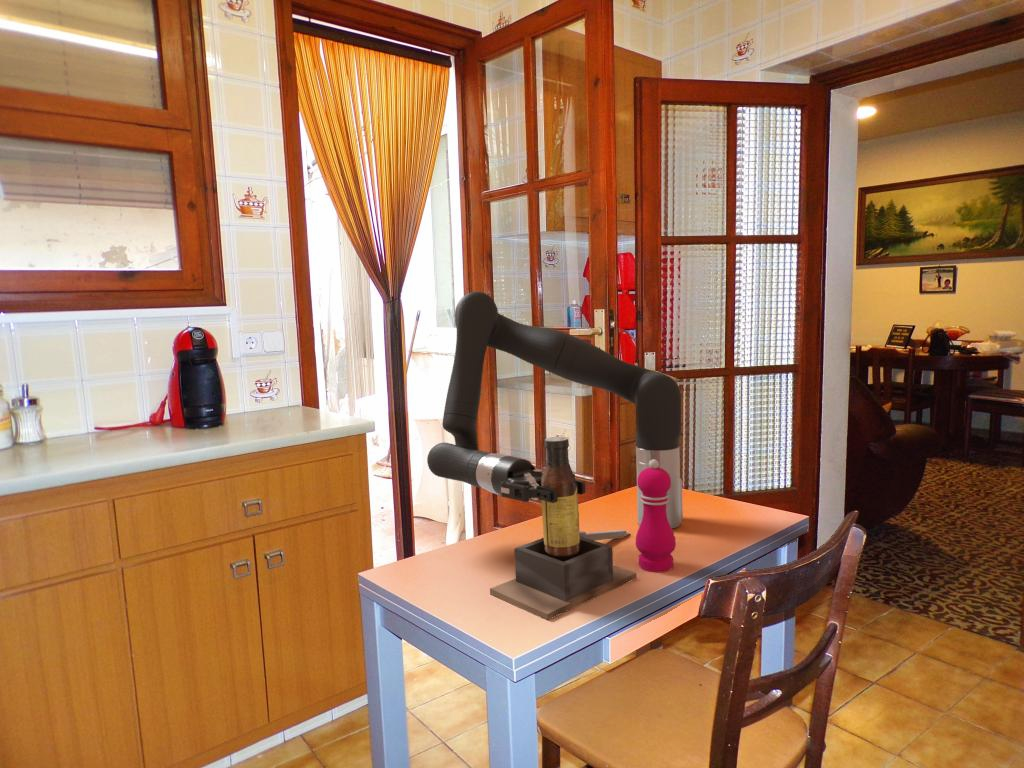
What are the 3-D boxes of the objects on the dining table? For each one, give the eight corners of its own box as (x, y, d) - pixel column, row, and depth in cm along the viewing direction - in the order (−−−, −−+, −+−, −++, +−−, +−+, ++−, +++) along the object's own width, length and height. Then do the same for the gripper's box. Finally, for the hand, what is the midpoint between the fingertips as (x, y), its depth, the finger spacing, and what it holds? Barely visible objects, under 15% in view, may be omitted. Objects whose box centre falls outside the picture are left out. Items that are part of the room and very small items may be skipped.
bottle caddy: (578, 558, 129) (577, 523, 129) (636, 578, 119) (635, 539, 118) (490, 594, 115) (488, 554, 114) (547, 620, 104) (545, 576, 104)
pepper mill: (628, 562, 126) (625, 458, 124) (660, 555, 129) (658, 453, 127) (651, 576, 119) (648, 466, 117) (684, 568, 122) (682, 460, 120)
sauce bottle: (587, 552, 115) (585, 439, 113) (559, 561, 112) (556, 444, 110) (563, 542, 121) (560, 433, 118) (535, 550, 117) (532, 438, 115)
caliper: (560, 561, 129) (559, 530, 128) (556, 560, 130) (555, 528, 129) (630, 535, 142) (630, 506, 141) (626, 534, 143) (625, 505, 142)
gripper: (474, 462, 121) (538, 478, 108) (532, 449, 130) (598, 462, 117) (475, 503, 121) (540, 524, 109) (533, 487, 131) (599, 504, 118)
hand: (570, 492), depth 113 cm, fingers closed on sauce bottle, 6 cm apart
